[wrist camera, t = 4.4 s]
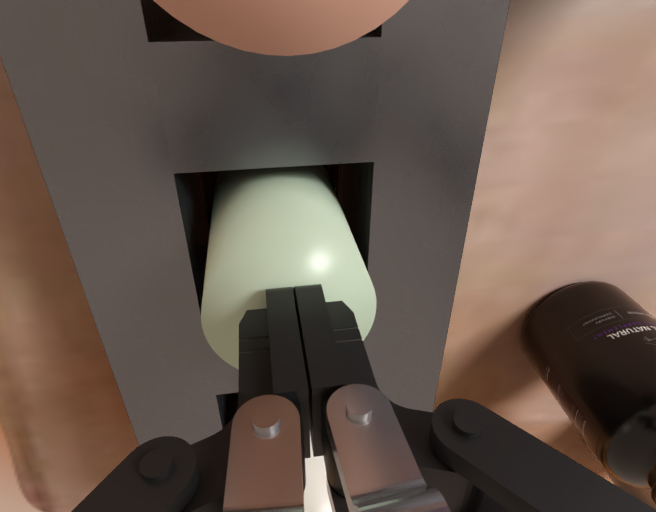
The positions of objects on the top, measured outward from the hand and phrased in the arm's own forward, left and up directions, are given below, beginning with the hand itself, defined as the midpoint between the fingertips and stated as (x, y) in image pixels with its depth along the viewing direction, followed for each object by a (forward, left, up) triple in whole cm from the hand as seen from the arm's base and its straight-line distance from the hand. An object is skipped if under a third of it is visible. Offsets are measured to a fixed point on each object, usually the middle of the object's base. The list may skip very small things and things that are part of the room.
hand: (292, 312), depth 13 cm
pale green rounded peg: (0, 0, -8) cm, 8 cm away
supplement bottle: (-16, -13, -10) cm, 23 cm away
